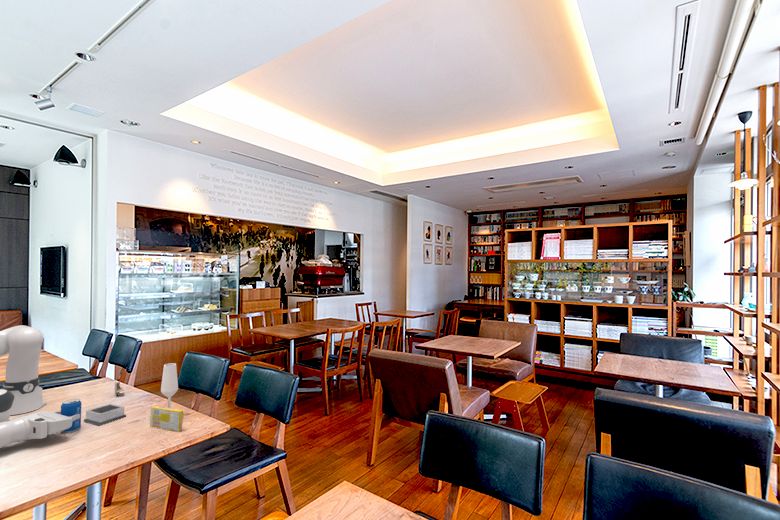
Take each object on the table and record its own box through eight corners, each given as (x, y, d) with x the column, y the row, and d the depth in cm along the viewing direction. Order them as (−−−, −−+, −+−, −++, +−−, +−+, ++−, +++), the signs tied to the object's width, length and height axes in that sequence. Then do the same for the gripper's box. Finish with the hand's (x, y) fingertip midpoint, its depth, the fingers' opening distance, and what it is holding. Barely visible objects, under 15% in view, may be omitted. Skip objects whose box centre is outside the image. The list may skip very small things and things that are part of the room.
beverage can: (68, 434, 153) (69, 404, 153) (55, 433, 154) (56, 403, 155) (84, 428, 159) (85, 398, 160) (72, 426, 161) (72, 397, 161)
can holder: (83, 421, 166) (83, 411, 166) (110, 413, 176) (111, 403, 176) (98, 426, 162) (99, 415, 162) (125, 417, 172) (126, 406, 172)
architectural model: (122, 394, 204) (122, 380, 205) (124, 397, 199) (124, 382, 199) (114, 395, 202) (114, 381, 202) (116, 398, 197) (116, 384, 197)
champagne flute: (161, 423, 165) (163, 367, 165) (158, 418, 170) (159, 364, 170) (179, 419, 169) (180, 364, 170) (175, 415, 174) (176, 361, 175)
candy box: (183, 430, 158) (183, 410, 158) (178, 432, 156) (179, 411, 156) (153, 424, 163) (154, 405, 164) (149, 426, 161) (149, 407, 162)
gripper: (15, 430, 149) (58, 417, 162) (44, 439, 141) (86, 425, 153) (16, 413, 149) (58, 402, 162) (44, 422, 141) (87, 410, 154)
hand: (72, 414), depth 158 cm, fingers open, 8 cm apart
